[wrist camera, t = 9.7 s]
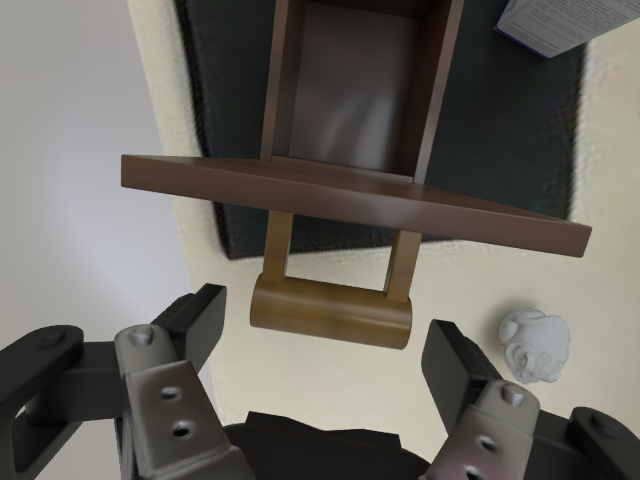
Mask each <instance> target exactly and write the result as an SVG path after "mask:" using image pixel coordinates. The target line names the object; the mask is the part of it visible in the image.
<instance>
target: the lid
mask: <svg viewBox="0 0 640 480" xmlns="http://www.w3.org/2000/svg"><path fill="white" fill-rule="evenodd" d="M121 186H122V187H126V188H132V189H139V190H146V191H152V192H158V193H165V194H171V195H177V196H184V197H190V198H197V199H203V200H210V201H216V202H223V203H229V204H236V205H242V206H249V207H255V208H261V209H268V210H270V212H269V220H268V229H267V237H266V246H265V255H264V263H263V272H262V273H260V275H259V276H258V278H257V281H256V284H255V287H254V291H253V296H252V301H251V308H250V325H251V326H252V327H257V328H263V329H270V330H276V331H283V332H289V333H295V334H302V335H308V336H314V337H321V338H327V339H334V340H340V341H346V342H353V343H359V344H365V345H372V346H378V347H385V348H391V349H397V350H403V349H404V348H405V347H406V345H407V343H408V340H409V337H410V333H411V327H412V304H411V300H410V298H409V291H410V287H411V282H412V278H413V273H414V269H415V264H416V260H417V256H418V251H419V247H420V242H421V238H422V233H423V234H429V235H436V236H442V237H449V238H455V239H462V240H468V241H475V242H481V243H488V244H494V245H500V246H507V247H513V248H520V249H526V250H533V251H539V252H546V253H552V254H559V255H565V256H571V257H578V258H582V257H583V255H584V252H585V249H586V246H587V243H588V240H589V237H590V234H591V231H592V227H590V226H587V225H583V224H579V223H575V222H571V221H567V220H563V219H559V218H555V217H551V216H547V215H543V214H539V213H535V212H531V211H527V210H523V209H519V208H515V207H511V206H507V205H503V204H499V203H495V202H491V201H487V200H483V199H479V198H475V197H471V196H467V195H463V194H459V193H455V192H451V191H447V190H443V189H439V188H435V187H431V186H427V185H422V184H415V183H409V182H402V181H396V180H389V179H383V178H376V177H370V176H363V175H357V174H350V173H344V172H337V171H331V170H324V169H318V168H311V167H305V166H298V165H292V164H285V163H279V162H272V161H266V160H259V159H234V158H206V157H179V156H150V155H125V154H124V155H122V156H121ZM294 214H300V215H307V216H313V217H320V218H326V219H332V220H339V221H345V222H352V223H358V224H365V225H371V226H378V227H384V228H391V229H396V230H395V235H394V240H393V245H392V250H391V254H390V259H389V264H388V269H387V274H386V279H385V284H384V289H383V291H378V290H371V289H365V288H359V287H352V286H346V285H339V284H333V283H327V282H320V281H314V280H307V279H301V278H295V277H288V276H286V272H287V264H288V257H289V249H290V242H291V234H292V227H293V219H294Z"/></svg>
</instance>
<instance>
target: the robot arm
mask: <svg viewBox="0 0 640 480" xmlns="http://www.w3.org/2000/svg"><path fill="white" fill-rule="evenodd" d="M226 296H227V288H226V286H221V285H215V284H209V283H206V284H205V285H204V286H203V287H202V288H201V289H200V290H199V291H198V292H197V293H196V294H192V293H189V294H187V295H184V296H182V297H179V298H178V299H177V300H175V301H174V303H172V304H171V306H169V307H168V308H167V309H166V310H165V311H163V312H162V313H161V314H160V315H159V316H158V317H157V318H156V319H154V320H153V321H152V322H151V323H150V324H142V325H135V326H132V327H128V328H125V329H123V330H122V331H120V332H119V333H118V334H117V335H116V336H115V338H114V341H109V342H84V336H83V335H84V334H83V331H82V329H80V328H78V327H76V326H71V325H56V326H49V327H44V328H40V329H38V330H35V331H32V332H30V333H28V334H26V335H25V336H23V337H22V338H20V339H18V340H17V341H15V342H14V343H12V344H11V345H9V346H7V347H6V348H4V349H3V350H1V351H0V480H34V479H35V478H36V477H37V476H38V474H39V473H40V472H41V471H42V470H43V469H44V468H45V466H46V465H47V464H48V463H49V462H50V461H51V459H52V458H53V457H54V456H55V455H56V454H57V452H58V451H59V450H60V449H61V448H62V446H63V445H64V444H65V443H66V442H67V441H68V440H69V438H70V437H71V436H72V435H73V433H75V431H76V430H77V429H78V428H79V427H80V426H81V424H82V423H83V421H90V420H101V419H112V418H114V425H115V432H116V439H117V447H118V455H119V462H120V470H121V480H640V440H639V439H638V438H637V437H636V436H635V435H634V434H633V433H632V432H631V431H630V430H629V429H628V428H627V427H626V426H624V425H623V424H622V423H620V422H619V421H617V420H616V419H614V418H612V417H610V416H609V415H607V414H604V413H602V412H600V411H597V410H595V409H591V408H587V407H575V408H574V409H573V411H572V413H571V416H570V418H569V419H566V418H563V417H560V416H557V415H554V414H552V413H549V412H546V411H543V410H541V409H540V403H539V401H538V399H537V398H536V397H535V396H534V395H533V394H532V393H531V392H529V391H528V390H526V389H525V388H523V387H522V386H520V385H518V384H515V383H513V382H510V381H507V380H504V379H503V378H502V376H501V375H500V374H499V373H498V371H497V370H496V369H495V367H494V366H493V365H492V363H490V362H489V359H488V358H487V357H486V355H484V353H483V352H482V350H481V349H480V348H479V346H478V345H477V344H475V343H474V342H473V341H471V340H470V339H469V338H467V337H464V336H463V334H462V333H461V332H460V330H459V329H458V327H457V326H456V325H455V323H454V322H449V321H443V320H436V319H433V320H432V321H431V323H430V326H429V330H428V334H427V338H426V342H425V346H424V350H423V354H422V360H421V367H422V372H423V375H424V377H425V380H426V382H427V384H428V387H429V389H430V392H431V394H432V397H433V399H434V402H435V404H436V406H437V409H438V411H439V414H440V416H441V419H442V421H443V424H444V426H445V428H446V431H447V433H448V438H447V440H446V441H445V443H444V444H443V446H442V448H441V449H440V451H439V452H438V454H437V456H436V457H435V459H434V460H433V462H432V464H430V463H429V462H427V461H426V460H424V459H423V458H421V457H419V456H418V455H416V454H414V453H412V452H410V451H408V450H406V449H403V448H402V447H401V443H400V439H399V435H397V434H391V433H385V432H378V431H372V430H366V429H350V430H331V431H324V430H320V429H317V428H314V427H312V426H309V425H306V424H304V423H301V422H298V421H296V420H293V419H290V418H287V417H284V416H277V415H271V414H265V413H258V412H252V411H249V413H248V416H247V419H246V422H245V423H238V424H232V425H227V426H223V427H222V425H221V423H220V421H219V419H218V417H217V414H216V412H215V410H214V408H213V406H212V404H211V402H210V400H209V398H208V396H207V394H206V392H205V390H204V388H203V385H202V383H201V381H200V379H199V377H198V375H197V374H198V373H199V371H200V370H201V368H202V366H203V365H204V363H205V362H206V360H207V359H208V357H209V355H210V354H211V352H212V351H213V349H214V347H215V346H216V344H217V343H218V341H219V339H220V337H221V335H222V331H223V327H224V318H225V307H226ZM24 405H25V410H24V412H22V413H21V414H20V415H19V416H18V417H17V418H15V417H16V415H17V414H18V412H19V410H20V409H21V408H22V407H23V406H24Z"/></svg>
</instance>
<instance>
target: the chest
mask: <svg viewBox="0 0 640 480" xmlns="http://www.w3.org/2000/svg"><path fill="white" fill-rule="evenodd" d="M464 1H465V0H276V7H275V17H274V27H273V36H272V46H271V56H270V65H269V75H268V85H267V94H266V104H265V114H264V123H263V133H262V143H261V152H260V160H266V161H272V162H279V163H285V164H292V165H298V166H305V167H311V168H318V169H324V170H331V171H337V172H344V173H350V174H357V175H363V176H370V177H376V178H383V179H389V180H396V181H402V182H409V183H415V184H422V185H424V182H425V178H426V173H427V169H428V164H429V160H430V155H431V151H432V146H433V141H434V137H435V132H436V128H437V123H438V119H439V114H440V110H441V105H442V101H443V96H444V92H445V87H446V83H447V78H448V74H449V69H450V65H451V60H452V55H453V51H454V46H455V42H456V37H457V33H458V28H459V24H460V19H461V15H462V10H463V6H464Z"/></svg>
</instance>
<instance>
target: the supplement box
mask: <svg viewBox="0 0 640 480" xmlns="http://www.w3.org/2000/svg"><path fill="white" fill-rule="evenodd" d="M639 17H640V0H509V1H508V3H507V4H506V6H505V8H504V10H503V12H502V14H501V15H500V17H499V19H498V21H497V23H496V25H495V27H494V30H496V31H497V32H499V33H501V34H502V35H504V36H506V37H508V38H510V39H511V40H513V41H515V42H516V43H518V44H520V45H522V46H523V47H525V48H527V49H528V50H530V51H532V52H533V53H535V54H537V55H539V56H541V57H542V58H544V59H549V58H551V57H553V56H556V55H558V54H560V53H562V52H565V51H567V50H569V49H571V48H573V47H575V46H578V45H580V44H582V43H584V42H586V41H589V40H591V39H593V38H595V37H597V36H600V35H602V34H604V33H606V32H609V31H611V30H613V29H615V28H618V27H620V26H622V25H624V24H626V23H629V22H631V21H633V20H635V19H637V18H639Z"/></svg>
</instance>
